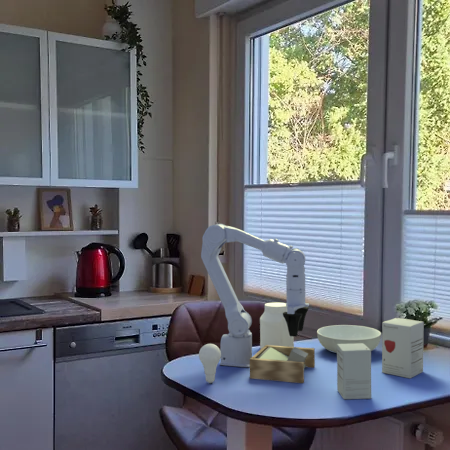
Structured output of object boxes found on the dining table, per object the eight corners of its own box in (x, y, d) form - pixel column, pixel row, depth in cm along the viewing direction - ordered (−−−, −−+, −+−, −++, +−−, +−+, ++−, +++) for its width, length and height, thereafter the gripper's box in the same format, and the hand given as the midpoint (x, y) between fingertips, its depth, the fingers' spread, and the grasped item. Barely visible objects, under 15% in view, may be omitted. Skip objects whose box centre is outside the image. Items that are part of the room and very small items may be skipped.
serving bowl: (306, 354, 192) (306, 333, 192) (333, 341, 209) (332, 322, 209) (367, 364, 180) (367, 341, 180) (390, 349, 197) (390, 329, 197)
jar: (275, 353, 193) (274, 308, 193) (255, 348, 201) (254, 304, 200) (298, 347, 201) (298, 304, 200) (278, 342, 208) (278, 300, 208)
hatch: (255, 359, 168) (256, 357, 168) (267, 348, 181) (269, 346, 180) (295, 380, 165) (296, 377, 164) (304, 367, 177) (305, 365, 177)
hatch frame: (249, 378, 167) (249, 359, 167) (266, 362, 183) (265, 344, 183) (302, 383, 162) (302, 363, 162) (314, 366, 178) (314, 348, 178)
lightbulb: (205, 387, 159) (204, 347, 158) (195, 381, 164) (195, 342, 164) (225, 384, 162) (224, 344, 161) (215, 378, 167) (214, 340, 167)
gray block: (284, 365, 170) (291, 350, 169) (288, 361, 174) (294, 346, 173) (298, 372, 169) (305, 357, 168) (301, 368, 173) (308, 353, 172)
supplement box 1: (364, 389, 156) (364, 342, 155) (371, 399, 148) (371, 349, 148) (336, 390, 156) (336, 343, 155) (342, 399, 148) (342, 350, 148)
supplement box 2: (380, 372, 171) (380, 321, 170) (395, 366, 177) (395, 317, 177) (410, 379, 164) (410, 326, 164) (424, 372, 171) (424, 321, 170)
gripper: (303, 293, 170) (304, 339, 171) (313, 286, 184) (313, 329, 184) (280, 292, 173) (280, 337, 173) (291, 285, 186) (291, 327, 187)
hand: (296, 333), depth 179 cm, fingers open, 7 cm apart
